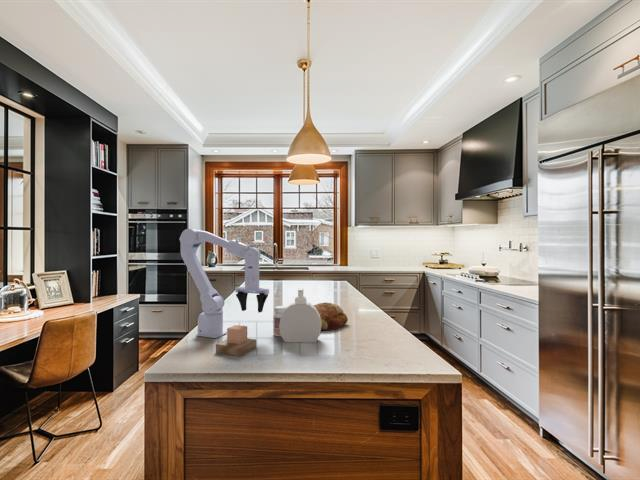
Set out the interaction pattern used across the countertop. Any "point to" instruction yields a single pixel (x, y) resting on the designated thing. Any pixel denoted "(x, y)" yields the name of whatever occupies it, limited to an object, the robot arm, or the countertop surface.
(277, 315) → the pill bottle
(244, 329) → the terracotta block
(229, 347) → the walnut base
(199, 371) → the countertop surface
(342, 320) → the bread
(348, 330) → the countertop surface
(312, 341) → the soap bottle
